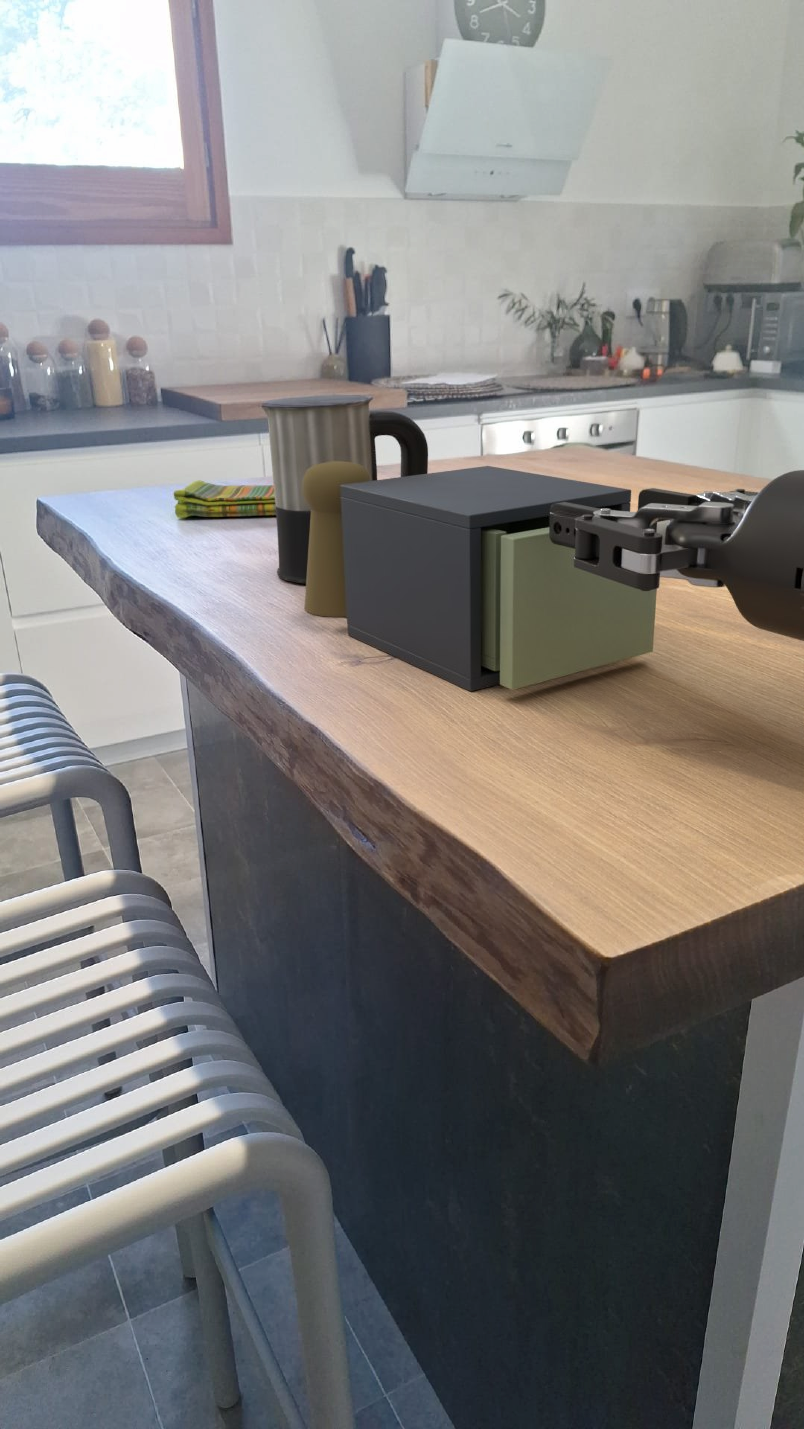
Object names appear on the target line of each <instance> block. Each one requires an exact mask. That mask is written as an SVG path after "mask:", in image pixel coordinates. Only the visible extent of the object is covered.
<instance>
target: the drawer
mask: <svg viewBox="0 0 804 1429" xmlns="http://www.w3.org/2000/svg"><path fill="white" fill-rule="evenodd" d="M599 509H603V508H601V507H600V508H599ZM614 511H617V510H614ZM669 522H670V520H666V521H661V522H657V533H659V534H662V535H663V537H662V545H665V530H666V526H667V524H668V523H669ZM549 524H550V516H546V517H540V518H534V519H528V520H522V521H516V522H510V523H504V524H498V525H492V526H486V527H480V528H481V666H483V667H486V668H488V669H491V670H493V671H498V670H500V684H499V685H500V686H502V687H504V688H507V689H508V690H512V691H514V690H518V689H520V688H524V687H525V688H526V687H528V686H529V687H530V686H533V685H536V684H539V683H544V682H547V681H550V680H554V679H558V678H562V677H565V676H568V675H573V674H576V673H579V672H583V671H587V670H591V669H594V668H599V667H601V666H605V665H608V664H609V665H610V664H613V663H616V662H620V661H624V660H627V659H632V658H634V657H638V656H642V655H646V654H649V653H652V652H654V639H655V623H656V608H657V606H656V605H657V592H658V589H654V590H651V591H641V590H640V589H636V588H633V587H630V586H627V585H624V584H621V583H618V582H616V581H613V580H610V579H607V578H604V577H601V576H598V575H595V574H592V573H590V572H587V571H584V570H581V569H578V568H575V567H574V557H575V549H573V548H569V547H565V546H561V545H557V544H554V543H552V541H551V540H550V536H549ZM629 526H630V525H629Z"/></svg>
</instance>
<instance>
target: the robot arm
mask: <svg viewBox="0 0 804 1429" xmlns="http://www.w3.org/2000/svg"><path fill="white" fill-rule="evenodd" d="M637 500H638V501H637V510H636V511H630V512H628V511H614V510H611V509H608V508H603V509H599V508H593V507H588V506H583V505H578V504H573V503H568V502H562V503H555V504H553V505H552V506H551V508H550V524H549V536H550V540H551V541H552V543H554V544H557V545H561V546H565V547H569V548H573V549H575V557H574V567H575V568H578V569H581V570H584V571H587V572H590V573H592V574H595V575H598V576H601V577H604V578H607V579H610V580H613V581H616V582H618V583H621V584H624V585H627V586H630V587H633V588H636V589H640V590H641V591H651V590H654V589H657V590H658V589H659V588H660V582H661V581H660V580H661V578H665V579H676V580H683V581H684V580H685V581H687V582H688V583H689V584H690V585H692V586H696V587H705V588H725V587H726V589H727V591H728V592H729V595H730V596H731V598H732V600H733V603H734V604H735V606H736V608H737V610H738V612H739V614H740V615H741V616H742V617H743V618H744V619H745V621H747V622H748V623H749V624H750V625H751V626H753V627H755V628H757V629H759V630H763V631H766V632H769V633H774V634H777V635H781V636H784V637H786V638H787V637H788V638H791V639H795V640H799V641H802V642H804V469H798V470H792V471H788V472H786V473H783V474H781V475H779V476H777V477H775V478H774V479H772V480H771V481H770V482H768V483H767V484H766V485H765V486H764V487H763V488H762V489H761V490H760V491H759V492H757V491H750V490H746V489H745V488H736V489H734V490H730V491H718V492H717V491H716V492H714V491H712V490H705V491H703V492H699V493H697V494H693V493H686V492H681V491H674V490H668V489H661V488H656V487H650V488H644V489H641V490H640V491H639V493H638V496H637ZM666 520H670V522H669V523H668V524H667V526H666V530H665V545H662V537H663V535H662V534H659V533H657V522H661V521H666ZM629 525H630V526H629Z"/></svg>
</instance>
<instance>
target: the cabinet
mask: <svg viewBox="0 0 804 1429" xmlns="http://www.w3.org/2000/svg"><path fill="white" fill-rule="evenodd" d="M340 488H341V510H342V530H343V550H344V569H345V589H346V609H347V617H346V624H347V635H348V636H349V637H351V638H354V639H356V640H358V641H360V642H362V643H365V644H367V645H369V646H371V647H373V648H375V649H377V650H380V651H382V652H384V653H386V654H388V655H389V656H392V657H395V658H397V659H399V660H401V661H403V662H405V663H408V664H410V665H412V666H414V667H416V668H419V669H421V670H422V671H425V672H428V673H430V674H432V675H434V676H436V677H438V678H440V679H442V680H444V681H446V682H449V683H450V684H453V685H455V686H457V687H460V688H461V689H464V690H466V691H468V692H474V691H478V690H481V689H485V688H489V687H494V686H497V685H500V670H498V671H493V670H491V669H488V668H486V667H483V666H481V528H480V527H486V526H492V525H498V524H504V523H510V522H516V521H522V520H528V519H534V518H540V517H546V516H550V508H551V506H552V505H553V504H555V503H562V502H568V503H573V504H578V505H583V506H588V507H593V508H600V507H601V508H608V509H611V510H617V511H628V512H631V502H632V490H631V489H628V488H623V487H616V486H610V485H605V484H599V483H592V482H586V481H581V480H576V479H570V478H569V479H568V478H563V477H556V476H551V475H545V474H540V473H533V472H527V471H521V470H517V469H516V470H515V469H510V468H504V467H497V466H491V465H484V466H476V467H475V466H474V467H468V468H460V469H453V470H444V471H437V472H436V471H435V472H430V473H429V472H428V473H427V474H421V475H413V476H405V477H401V476H399V477H398V476H397V477H391V478H390V477H389V478H382V479H377V480H375V481H367V482H359V483H351V484H344V485H341V486H340Z"/></svg>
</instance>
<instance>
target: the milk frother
mask: <svg viewBox="0 0 804 1429" xmlns="http://www.w3.org/2000/svg"><path fill="white" fill-rule="evenodd" d="M373 399H374V397H373V396H371V395H364V394H363V395H362V394H327V395H326V394H325V395H323V394H322V395H308V396H306V395H305V396H295V397H283V398H277V399H270V400H266V401H264V402H262V403H261V404H260V406H261V409H263V411H264V412H265V415H266V418H267V425H268V438H269V448H270V459H271V471H272V472H271V473H272V482H273V484H272V485H274V495H275V503H276V506H275V507H276V515H275V516H276V517H275V518H276V527H277V528H276V530H277V548H278V549H277V551H278V568H277V569H276V574H277V576H278V577H279V578H280V579H282V580H284V581H289V582H292V583H297V584H305V585H306V579H307V563H308V548H309V533H310V518H311V508H310V507H309V505H308V504H307V503H306V502H305V499H304V496H303V493H302V481H303V477H304V475H305V473H306V471H307V469H309V468H310V467H312V466H314V465H317V464H321V463H326V462H333V461H343V462H351V463H356V464H359V465H361V466H363V467H365V468H366V470H367V472H368V473H369V476H370V479H371V481H375V480H378V466H377V452H376V450H377V449H376V438H377V437H380V436H388V437H392V438H394V439H395V441H396V442H397V444H398V446H399V448H400V477H405V476H413V475H421V474H429V472H428V471H429V470H428V469H429V446H428V441H427V438H426V435H425V432H424V431H423V430H422V429H421V427H420V426H419V425H418V423H416V422H415V421H414V420H413V419H412V418H410V417H409V416H407V415H405V414H403V413H400V412H396V411H391V410H370V402H372V401H373Z"/></svg>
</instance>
